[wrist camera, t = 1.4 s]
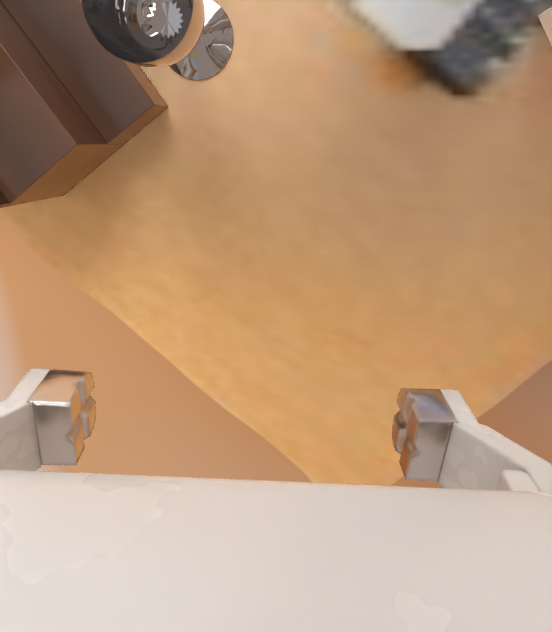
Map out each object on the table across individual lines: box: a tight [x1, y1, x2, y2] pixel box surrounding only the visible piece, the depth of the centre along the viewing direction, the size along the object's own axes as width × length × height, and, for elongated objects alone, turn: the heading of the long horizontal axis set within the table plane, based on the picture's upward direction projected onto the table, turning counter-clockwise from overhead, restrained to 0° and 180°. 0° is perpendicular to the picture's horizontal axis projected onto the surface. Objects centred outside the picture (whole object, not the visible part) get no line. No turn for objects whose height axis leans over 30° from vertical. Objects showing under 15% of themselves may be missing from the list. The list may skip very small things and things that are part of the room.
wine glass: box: [82, 0, 233, 80], centre depth 43 cm, size 8×8×15 cm
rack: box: [0, 0, 168, 208], centre depth 47 cm, size 15×18×12 cm
